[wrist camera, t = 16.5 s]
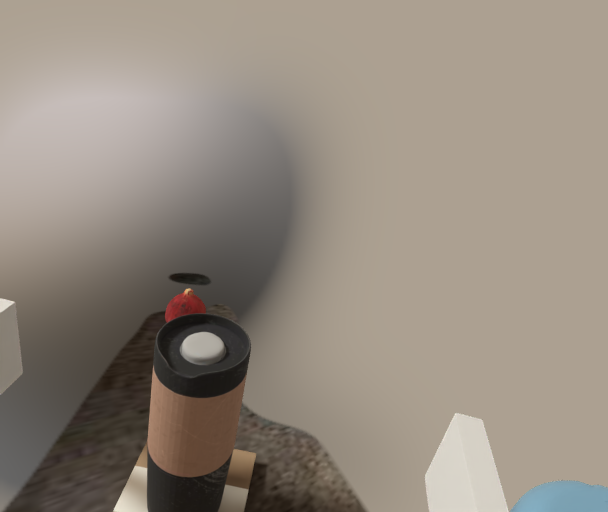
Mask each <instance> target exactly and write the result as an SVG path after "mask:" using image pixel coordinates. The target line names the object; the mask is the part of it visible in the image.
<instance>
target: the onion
mask: <svg viewBox="0 0 608 512" xmlns="http://www.w3.org/2000/svg"><path fill="white" fill-rule="evenodd" d="M195 313H206V308H205V305H204V303H203V302H202V301H201V299H199V297H197V296H196V295H194V294H193V290H192V289H190V288H189V289H186V290H185V292H184V293H182V294H179V295H177V296H176V297H174V298H173V299H172V300H171V301H170V302H169V304H168V306H167V309H166V313H165V318H166V322H167V323H168V322H169V321H171V320H173V319H175V318H177V317H180V316H183V315H188V314H195Z"/></svg>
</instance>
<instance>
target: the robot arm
mask: <svg viewBox="0 0 608 512" xmlns="http://www.w3.org/2000/svg"><path fill="white" fill-rule="evenodd" d="M22 373H23V370H22V360H21V351H20V342H19V333H18V324H17V314H16V305H15V302H13V301H9V300H5V299H1V298H0V395H1V394H2V393H3V392H4V391H5V390H6V389H7V388H8V387H9V386H10V385H11V384H12V383H13V382H14V381H15V380H16V379H17V378H18V377H19V376H21V374H22ZM425 481H426V490H427V498H428V507H429V512H509V511H508V507H507V504H506V501H505V497H504V494H503V490H502V487H501V484H500V480H499V476H498V473H497V469H496V466H495V462H494V459H493V455H492V452H491V448H490V445H489V441H488V438H487V434H486V431H485V428H484V424H483V421H482V419H478V418H474V417H470V416H466V415H462V414H458V413H455V415H454V417H453V419H452V421H451V423H450V425H449V428H448V429H447V432H446V434H445V436H444V438H443V440H442V442H441V444H440V446H439V448H438V450H437V452H436V454H435V456H434V459H433V461H432V463H431V465H430V467H429V469H428V471H427V473H426V475H425ZM510 512H608V488H607V487H604V486H600V485H593V486H591V485H588V484H585V483H582V482H579V481H555V482H548V483H544V484H541V485H539V486H536V487H534V488H533V489H531V490H529V491H528V492H527V493H525V494H524V495H523V496H522V497H521V498H520V499H519V501H518V502H517V503H516V504H515V506H514V507H513V508H512V509H511V511H510Z"/></svg>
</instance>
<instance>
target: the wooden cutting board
mask: <svg viewBox="0 0 608 512" xmlns="http://www.w3.org/2000/svg"><path fill="white" fill-rule="evenodd" d="M147 446H148V441H147V443H146V445H145V447H144V449H143V451H142V453H141V455H140V457H139V459H138V461H137V463H136V465H135V467H134V469H133V471H132V474H131V476H130V478H129V480H128V482H127V484H126V486H125V488H124V490H123V492H122V494H121V496H120V498H119V500H118V502H117V504H116V506H115V508H114V510H113V512H148V509H147ZM255 458H256V453H251V452H246V451H242V450H237V449H233V453H232V458H231V462H230V466H229V471H228V475H227V479H226V484H225V488H224V492H223V496H222V500H221V504H220V508H219V510H218V512H244V509H245V504H246V500H247V495H248V490H249V486H250V481H251V476H252V472H253V467H254V462H255Z"/></svg>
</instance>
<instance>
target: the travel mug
mask: <svg viewBox="0 0 608 512" xmlns="http://www.w3.org/2000/svg"><path fill="white" fill-rule="evenodd" d="M250 351H251V343H250V339H249V336H248V334H247V333H246V331H245V330H244V329H243V328H242V327H241V326H240V325H238V324H237V323H236V322H234V321H232V320H230V319H228V318H225V317H222V316H219V315H214V314H207V313H195V314H188V315H183V316H180V317H177V318H175V319H173V320H171V321H169V322H168V323H166V324H165V325H164V326H163V327H162V328H161V329H160V331H159V332H158V334H157V337H156V341H155V350H154V364H153V377H152V390H151V404H150V417H149V430H148V446H147V509H148V512H218V510H219V508H220V504H221V500H222V496H223V492H224V488H225V484H226V479H227V475H228V471H229V466H230V462H231V458H232V453H233V449H234V445H235V439H236V433H237V427H238V421H239V415H240V410H241V404H242V397H243V392H244V386H245V380H246V375H247V368H248V363H249V357H250Z"/></svg>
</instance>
